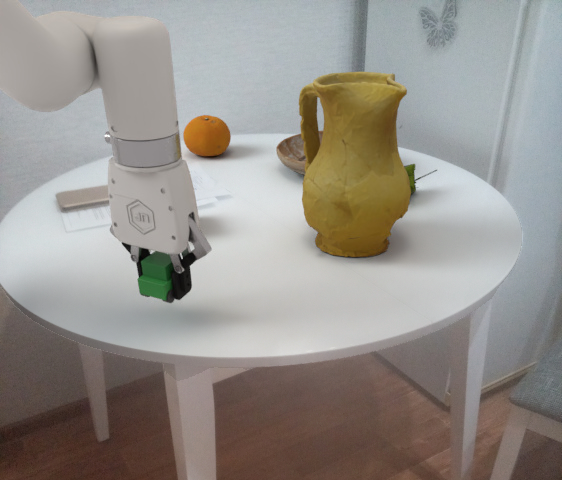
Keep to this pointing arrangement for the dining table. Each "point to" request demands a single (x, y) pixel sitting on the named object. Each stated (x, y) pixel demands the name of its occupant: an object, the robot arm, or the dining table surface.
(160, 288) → the toy car
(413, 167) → the toy tank
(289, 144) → the ceramic bowl
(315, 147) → the pitcher
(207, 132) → the fruit
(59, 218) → the dining table surface
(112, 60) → the robot arm
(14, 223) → the dining table surface
